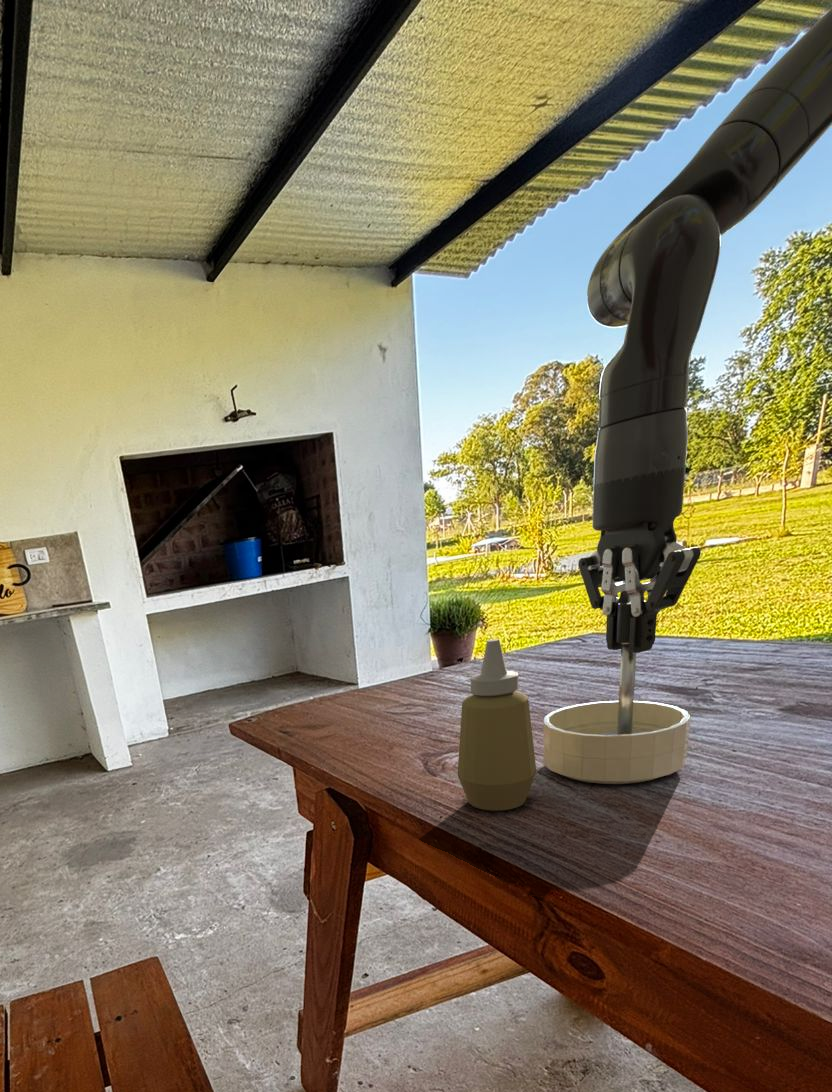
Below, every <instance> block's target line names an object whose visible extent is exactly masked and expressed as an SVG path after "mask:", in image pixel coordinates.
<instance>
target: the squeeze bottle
mask: <svg viewBox="0 0 832 1092" xmlns="http://www.w3.org/2000/svg"><path fill="white" fill-rule="evenodd" d="M469 679H470V695H468V696H467V697H466V698H464V700H462V702H461V715H460V729H459V731H460V732H459V747H458V759H457V760H458V762H457V778H458V780H459V782H460V783H459V784H460V785H461V787H462V790H463V792H464V794H465V796H466V799H467V802H468V803H469V804H470V805H471V806H472V807H474V808H477V809H480V810H485V811H492V812H493V811H506V810H507V811H508V810H514V809H516V808H518V807H521V806H523V804H525V802H526V800H527V798H528V795H529V793H530V790H531V787H532V785H533V783H534V780H535V778H536V776H537V764H536V755H535V746H534V736H533V729H532V720H531V711H530V702H529V697H528V695H527V694H525V693H524V692H522V691H519V673H518V672H517V671H513V670H508V668H507V664H506V660H505V656H504V652H503V649H502V644H501V640H500V639H499V638H492V639H487V640H486V645H485V649H484V654H483V659H482V665H481V669H480V673H477V674H474V675H472V676H470V678H469Z"/></svg>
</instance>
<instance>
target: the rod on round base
mask: <svg viewBox="0 0 832 1092" xmlns="http://www.w3.org/2000/svg"><path fill="white" fill-rule="evenodd" d="M645 601H646V600H644V602H645ZM630 617H634V616H633V615H632V613H631V601H626V602H621V603H618V610H617V633H616V642H618V643H621V649H620V662H619V663H620V665H619V666H620V667H619V688H618V701H619V705H618V726H617V730H612V731H607V732H603V733H600V734H598V735H621V734H636V733H644V732H645V731H640V730H632V721H633V703H634V701H635V700H634V699H635V684H636V665H637V653H634V652H630V651H629V635H630Z"/></svg>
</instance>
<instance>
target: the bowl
mask: <svg viewBox="0 0 832 1092" xmlns="http://www.w3.org/2000/svg"><path fill="white" fill-rule="evenodd" d="M618 705H619V700H607V701H593V702H587V703H579V704H573V705H570V706H564V707H561V708H558V709H556V710H553V711H551V712H550V713H548V714H547V715H546V716H544V717H543V747H542V748H543V751H542V753H543V754H542V755H543V757H542V759H543V765H544V766H545V767H546V768H547V769H548V770H549V771H551V772H553V773H556V774H559V775H561V776H564V777H567V778H568V779H572V780H576V781H580V782H585V783H592V784H603V785H625V784H626V785H627V784H637V783H642V782H643V783H644V782H648V781H653V780H655V779H659V778H662V777H664V776H665V777H666V776H670V775H672V774H674V773H676V772H677V771H679V770H681V769H683V768H684V766H685V765H686V763H687V759H688V751H689V750H688V749H689V738H690V727H691V718H692V717H691V715H690V714H689V713H688V711H687V710H686V709H683V708H680V707H678V706H675V705H671V704H667V703H661V702H654V701H643V700H634V703H633V721H632V730H640V731H645V732H644V733H636V734H621V735H598V734H600V733H603V732H607V731H612V730H617V726H618Z"/></svg>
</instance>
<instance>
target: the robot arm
mask: <svg viewBox="0 0 832 1092" xmlns="http://www.w3.org/2000/svg"><path fill="white" fill-rule="evenodd" d="M831 126H832V7H831V8H830V9H829V10H828V11H827V12H826V13H825V14H824V15H823V16H822V17H821V18H820V19H819V20H818V21H816V23H814V25H813V26H812V27H811V28H810V29H809V30H808V31H806V32H805V34H804V35H802V36H801V37H800V39H798V41H796V43H794V44H793V45H792V46H791V48H789V49H788V50H787V52H785V54H783V55H782V56H781V57H780V58H779V59H778V60H777V62H776V63H774V65H773V66H772V67H771V68H770V69H769V70H768V71H767V72H766V73H765V74H764V75H763V76H762V77H761V78H760V79H758V81H757V83H755V85H753V87H751V89H750V90H749V91H748V92H747V93H746V94H745V95H744V97H743V98H741V100H740V101H739V102H738V103H737V105H736V106H735V107H734V108H733V109H732V110H731V111H730V112H729V113H728V115H727V116H726V117H725V118H724V119H723V120H722V122H721V123H720V124H719V125H718V127H716V129H715V130H714V131H713V132H712V133H711V135H709V136H708V138H707V140H706V141H704V143H703V144H702V145H701V146H700V147H699V149H698V150H697V152H696V153H695V154H694V156H693V157H692V158H691V159H690V161H689V162H688V163H687V164H686V166H684V167H683V169H682V170H681V171H680V172H679V173H678V175H676V176H675V177H674V178H673V179H672V180H671V182H669V184H667V185H666V186H665V187H664V188H663V189H662V190H661V191H660V192H659V193H658V194H657V195H656V196H655V197H654V198H653V199H652V200H651V201H650V202H649V203H648V204H647V205H646V206H645V207H644V208H643V209H642V210H641V211H640V212H639V213H638V214H637V215H636V216H635V217H634V218H633V219H632V220H631V221H630V222H629V224H628V225H627V226H625V227H624V228H623V230H621V232H620V233H619V234H618V235H617V236H616V237H615V238H614V239H613V240H612V242H611V243H609V245H608V246H607V247H606V249H605V250H604V251H603V253H602V254H601V255H600V257H599V258H598V260H597V261H596V263H595V265H594V268H593V270H592V272H591V274H590V277H589V280H588V285H587V292H586V304H587V308H588V312H589V314H590V316H591V317H592V318H593V320H594V321H595V322H596V323H597V324H599V325H601V326H603V327H606V328H611V329H618V328H624V327H626V329H625V334H624V340H623V342H622V344H621V346H620V347H619V349H618V351H617V352H616V354H615V355H613V356H612V358H611V359H610V360H609V361H608V362H607V363H606V364H605V366H604V368H603V370H602V372H601V376H600V383H599V396H598V397H599V401H598V402H599V403H598V430H597V439H596V444H595V445H596V446H595V452H594V460H593V461H594V464H593V496H592V500H593V501H592V529H593V530H595V531H597V532H600V537H599V541H598V543H597V546H596V551H595V552H593V553H592V554H591V555H589V556H584V557H580V559H579V560H578V564H577V565H578V569H579V572H580V575H581V578H582V581H583V584H584V587H585V590H586V593H587V597H588V600H589V603H590V607H591V608H592V609H593V610H596V609H599V610H601V611H602V613H603V615H605V616H606V626H605V627H606V629H605V641H606V644H607V645H606V646H607V649H608V650H610V651H618V650H621V643H618V642H616V633H617V610H618V603H621V602H626V601H631V613H632V615H633V616H634V617H630V635H629V651H630V652H634V653H636V654H638V653H643V652H648V651H650V650H651V649H652V648H653V646H654V644H655V642H656V633H657V632H656V630H657V617H658V614H659V613H660V612H661V611H663V610H665V609H668V608H671V607H674V606H676V605H677V603H678V601H679V599H680V597H681V595H682V594H683V591H684V589H685V587H686V585H687V583H688V581H689V579H690V577H691V575H692V573H693V571H694V569H695V567H696V565H697V563H698V561H699V559H700V557H701V553H702V552H701V549H700V548H699V547H698V546H693V547H689V548H688V547H685V546H683V545H681V544H679V543H678V542H677V541H678V539H677V533H676V531H675V527H674V523H675V520H676V518H678V517H680V515H681V514H682V512H683V505H684V504H683V502H684V492H685V489H684V488H685V479H686V464H687V452H688V421H687V419H688V418H687V412H688V411H687V408H688V398H689V397H688V396H689V383H690V362H691V361H690V360H691V355H692V352H693V349H694V346H695V342H696V340H697V338H698V335H699V331H700V329H701V326H702V323H703V319H704V315H705V313H706V309H707V305H708V301H709V299H710V295H711V292H712V288H713V285H714V281H715V277H716V273H717V268H718V265H719V259H720V253H721V236H723V235H724V234H726V233H727V232H728V231H730V230H731V229H733V228H734V227H736V225H738V224H739V223H741V222H742V221H743V220H745V219H746V218H747V217H748V216H749V215H750V214H751V213H752V212H753V211H754V210H755V209H756V208H758V206H759V205H760V204H762V202H764V201H765V199H766V198H767V197H768V196H769V195H770V194H771V192H773V191H774V190H775V188H776V187H778V185H779V184H780V183H781V182H782V180H783V179H784V178H785V177H786V176H787V175H788V174H789V173H790V172H791V171H792V170H793V169H794V168H795V166H796V165H797V164H798V163H799V162H800V161H801V160H802V159H803V157H805V155H806V154H807V153H808V152H809V150H810V149H811V148H812V147H813V146H814V145H815V144H816V143H817V142H818V141H819V140H820V138H822V137H823V135H824V134H825V133H826V132H827V131H828V130H829V129H830V128H831ZM646 580H649V581H648V582H643V583H641V581H646ZM600 590H601V592H602V593H603V594H604V595H601V592H600ZM619 593H620V594H619ZM645 593H647V600H645ZM644 601H645V602H644Z"/></svg>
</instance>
